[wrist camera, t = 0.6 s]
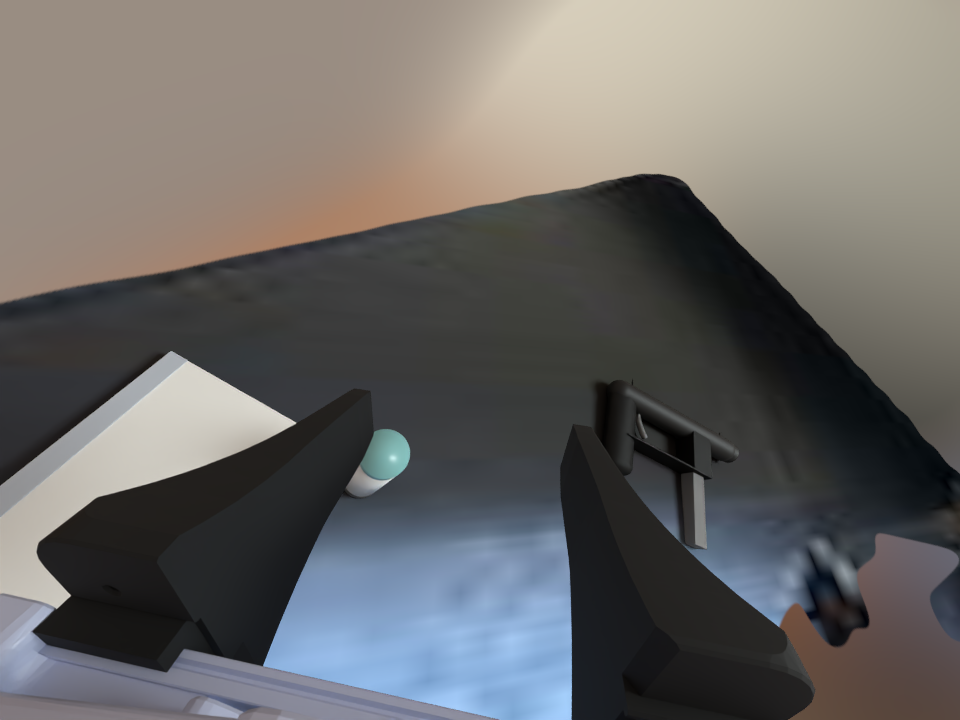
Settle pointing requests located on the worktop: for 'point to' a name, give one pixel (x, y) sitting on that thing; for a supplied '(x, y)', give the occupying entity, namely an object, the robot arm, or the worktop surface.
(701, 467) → the door handle
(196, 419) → the notepad
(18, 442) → the worktop surface
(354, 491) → the marker
